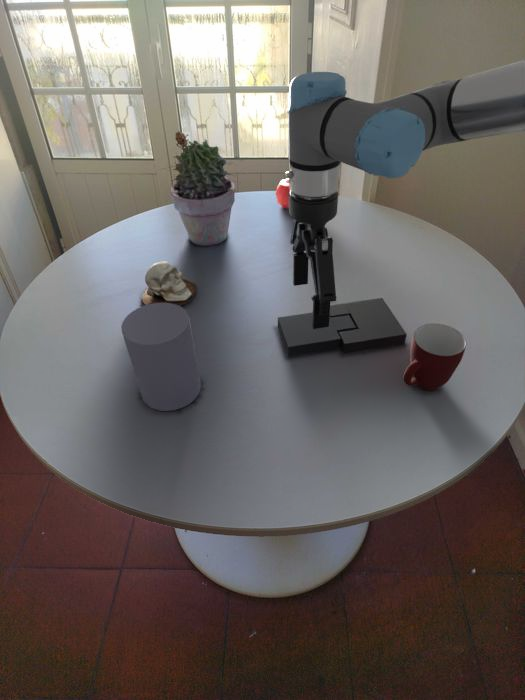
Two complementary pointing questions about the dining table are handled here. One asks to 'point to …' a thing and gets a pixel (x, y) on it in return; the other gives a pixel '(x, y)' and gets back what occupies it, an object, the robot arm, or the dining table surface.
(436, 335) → the mug
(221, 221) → the potted plant
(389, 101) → the robot arm
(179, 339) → the container
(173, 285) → the skull
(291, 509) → the dining table surface
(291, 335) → the pad
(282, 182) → the apple
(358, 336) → the base pad
